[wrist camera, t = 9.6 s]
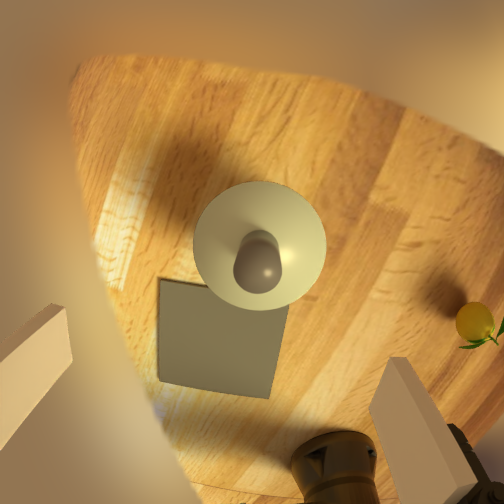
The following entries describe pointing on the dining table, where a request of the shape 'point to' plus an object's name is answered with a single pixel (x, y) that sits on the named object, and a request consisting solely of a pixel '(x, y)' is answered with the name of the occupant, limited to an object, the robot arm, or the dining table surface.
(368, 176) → the dining table surface
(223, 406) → the dining table surface
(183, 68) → the dining table surface
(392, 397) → the robot arm
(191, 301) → the mat
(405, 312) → the dining table surface
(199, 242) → the lid
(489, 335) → the lemon
